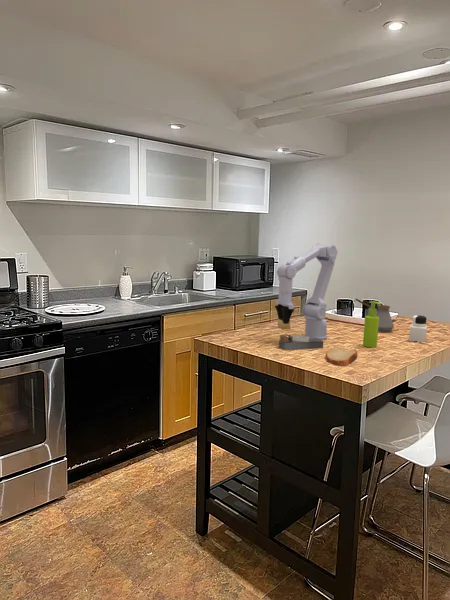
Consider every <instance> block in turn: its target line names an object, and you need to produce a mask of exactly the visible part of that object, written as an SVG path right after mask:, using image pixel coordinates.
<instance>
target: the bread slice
mask: <svg viewBox="0 0 450 600" xmlns="http://www.w3.org/2000/svg"><path fill="white" fill-rule="evenodd" d="M357 357H358V351H357V349H356V348H353V349H347V350H345V349H342V348H339V347H337V346H334V347H332V348H330V349H328V350H327V351H326V352H325V358H324V359H325V361H326V362H327V363H329V364H330V363H331V365H333V366H338V367H348V366H349V364H350V365H352V363H353V362H354V361H355V360H356V359H357Z"/></svg>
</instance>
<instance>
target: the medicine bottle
mask: <svg viewBox="0 0 450 600" xmlns="http://www.w3.org/2000/svg"><path fill="white" fill-rule="evenodd" d="M427 319H428V318H427V316H425V315H421V314H420V315H419V314H418V315H417V314H416V315H413V316H412V322H411V324H410V326H409V337H408V342H410V341H417V342H416V343H418V342H425V343H426V341H427V333H428V326H427Z"/></svg>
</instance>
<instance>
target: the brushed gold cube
mask: <svg viewBox="0 0 450 600" xmlns="http://www.w3.org/2000/svg"><path fill="white" fill-rule="evenodd" d="M291 323H292V322H291V319H290V321H289V324H284V322H283V318H282V319H278V318H277V328H278V329H280V330H282V331H283V330H291Z"/></svg>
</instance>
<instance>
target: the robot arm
mask: <svg viewBox="0 0 450 600" xmlns="http://www.w3.org/2000/svg"><path fill="white" fill-rule="evenodd" d="M311 247H312V248H310V249H309V250H308V251H307V252H305V253H304V254H302V255H301V256H300V255H297V256H296V255H295V256H294V257H293V259H291V260H290V261H287V262H286V263H285V264H281V265H280V266H278V268H277V270H276V275H277V276H278V281H279V282H278V299H276V300H275V304H277V305H274V308H275V310H276V313H277V320H278V319H282V318H283V322H284V324H289V321H290V320H291V317H292V314H293V313H294V312H295V304H294V303H293V302H292V295H293V294H292V293H293V279H294V278H295V277H296V274H297V273H298V272H299V271H300V270H303V268H305V267H306V265H307V263H309V262H310V261H312V260H314V259H316V260H317V261H318V262H319V263H320V265H321V266H320V270H319V273H318V275H317V280H316V283H315V286H314V289H313V291H312V296H311V297H310V298H308V299H307V300H306V301H305V304H304V306H303V307H302V314H303V316H304V319H305V325H304V327H305V329H304V334H301V335H300V336H308V337H309V338H318V339H320V340H324V339H325V340H326V339H327V330H328V329H327V328H328V327H327V326H328V324H327V320H326V319H325V316H326V314H327V310H326V309H327V304H326V301H324V300H325V296H326V293H327V290H328V287H329V283H330V280H331V277H332V274H333V270H334V267H335V263H336V259H337V255H338V248H337V247H336V245H335V244H333V243H331V244H326V243H319V242H317V243H316V244H313V246H311Z"/></svg>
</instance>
